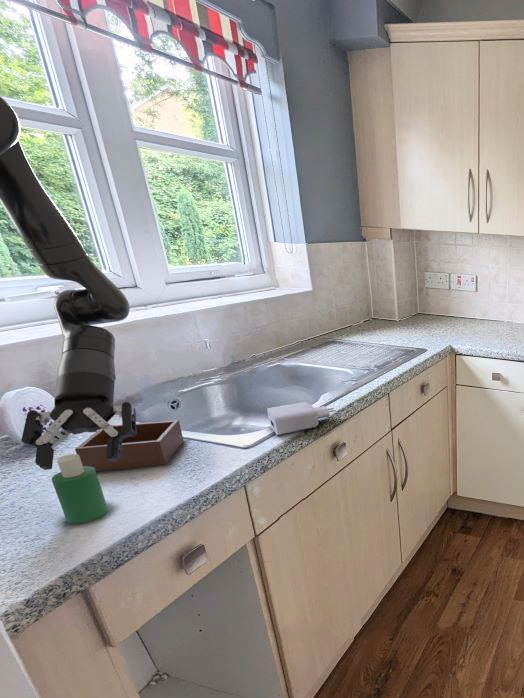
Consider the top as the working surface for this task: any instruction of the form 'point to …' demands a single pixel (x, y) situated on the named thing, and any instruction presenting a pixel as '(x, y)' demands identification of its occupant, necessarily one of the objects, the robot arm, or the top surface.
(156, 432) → the tray
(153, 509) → the top surface
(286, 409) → the charger
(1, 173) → the robot arm
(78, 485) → the green bottle
